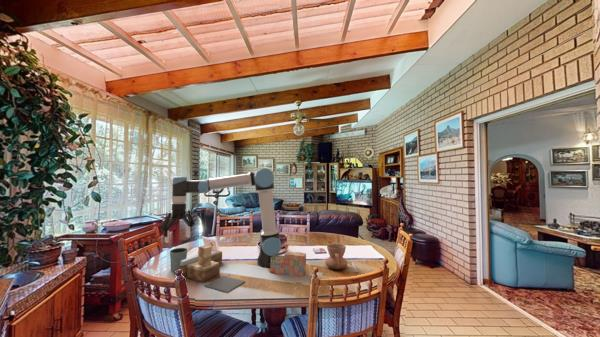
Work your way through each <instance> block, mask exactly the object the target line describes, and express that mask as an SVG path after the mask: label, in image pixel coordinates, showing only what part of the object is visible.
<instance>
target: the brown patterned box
mask: <svg viewBox="0 0 600 337" xmlns="http://www.w3.org/2000/svg"><path fill="white" fill-rule="evenodd" d="M306 268H307V253H306V252H300V251H285V253H284V255H280V254H278V255H273V256H272V257H271V258H270V268H269V272H270V273H271V274H278V275H287V276H293V277H294V276H297V277H304V276H305V275H306V273H307V271H306V270H307V269H306Z"/></svg>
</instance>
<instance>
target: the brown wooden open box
mask: <svg viewBox="0 0 600 337" xmlns="http://www.w3.org/2000/svg"><path fill="white" fill-rule="evenodd" d="M211 261H214V262H219V265H217V266H215V267H213V268H211V269H208V270H206V271H200V270H196V269H192V268H188V267H186V265H184V266H181V265H180V266H179V269H182V271H183V273H182V275H183V276H184V277H185V278H186V279H188V278H189V280H193V281H196V282H199V283H206V282H208V281H210V280H213V279H214V278H215V279H216V277H218V276H220V273H221V271H220V270H221V264H222V263H223V251H221V250H218V251H216V252H213V253H212V252H211Z"/></svg>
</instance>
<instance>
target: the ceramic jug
mask: <svg viewBox="0 0 600 337" xmlns="http://www.w3.org/2000/svg"><path fill="white" fill-rule="evenodd" d="M346 247H347V246H346V245H345V244H343V243H336V242H335V243H334V242H333V243H328V244H327V245H326V249H327V252H328V255H329V257H327V258H326V259H325V262H324V263H325V266H326V267H327V268H330V269H332V270H338V271H339V270H344V269H346V268H347V266H348V265H349V264H348V261H347V259H345V258H344V255H345V253H346Z"/></svg>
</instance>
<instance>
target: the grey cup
mask: <svg viewBox="0 0 600 337" xmlns="http://www.w3.org/2000/svg"><path fill="white" fill-rule="evenodd" d="M169 257H170V258H169V259H170V271H171V272H174V271H176V270H178V269H179V266H180V261H182V260H184V259H187V258H188V248H187V247H176V248H172V249H171V250H169Z"/></svg>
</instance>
